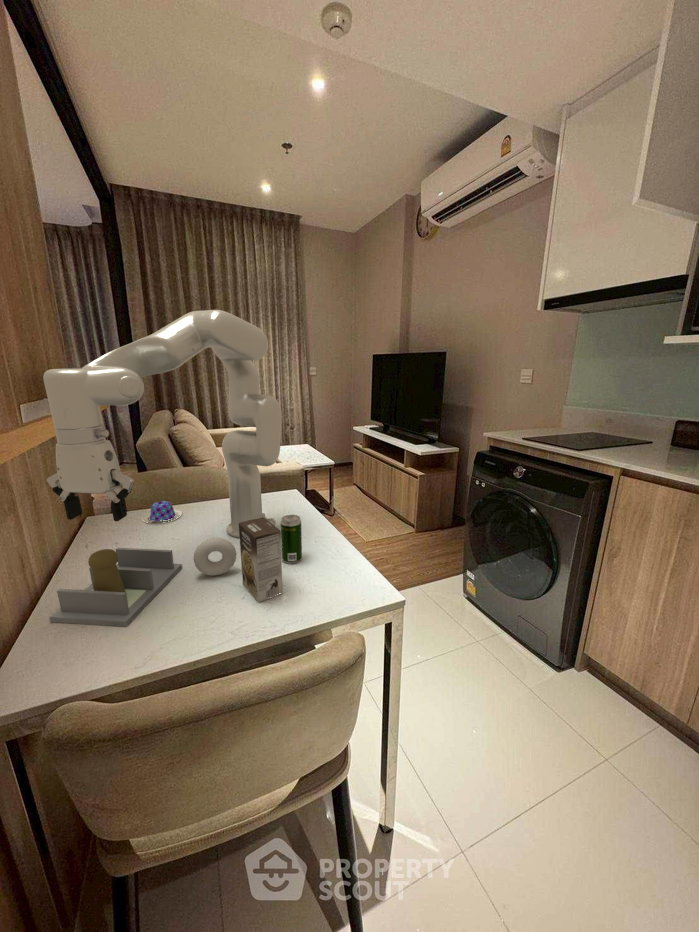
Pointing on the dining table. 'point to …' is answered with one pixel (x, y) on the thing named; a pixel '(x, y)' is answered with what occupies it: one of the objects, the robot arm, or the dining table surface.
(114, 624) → the rack
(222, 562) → the donut
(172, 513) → the purple patterned dome
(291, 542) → the beer can
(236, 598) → the dining table surface
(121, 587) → the brown gourd-shaped form
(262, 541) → the coffee box
